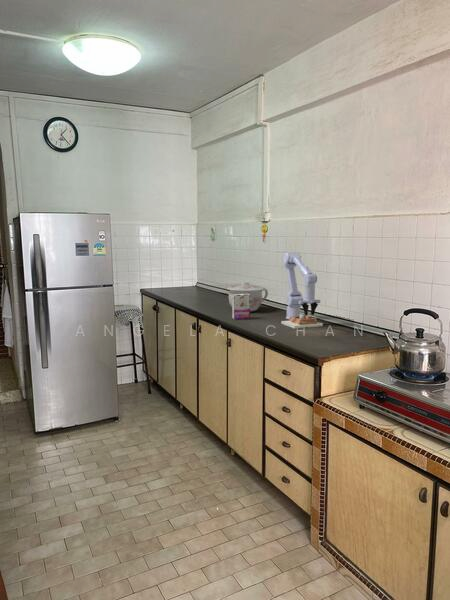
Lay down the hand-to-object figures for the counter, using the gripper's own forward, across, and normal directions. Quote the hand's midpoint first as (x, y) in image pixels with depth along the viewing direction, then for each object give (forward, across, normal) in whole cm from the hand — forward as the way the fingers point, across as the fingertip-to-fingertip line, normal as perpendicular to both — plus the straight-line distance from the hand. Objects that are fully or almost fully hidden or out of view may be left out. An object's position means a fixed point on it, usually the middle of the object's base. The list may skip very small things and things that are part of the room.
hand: (309, 314), depth 285 cm
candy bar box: (+6, -32, +32) cm, 46 cm away
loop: (+4, -4, 0) cm, 6 cm away
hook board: (+6, -5, 0) cm, 8 cm away
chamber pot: (+6, -16, +59) cm, 61 cm away
